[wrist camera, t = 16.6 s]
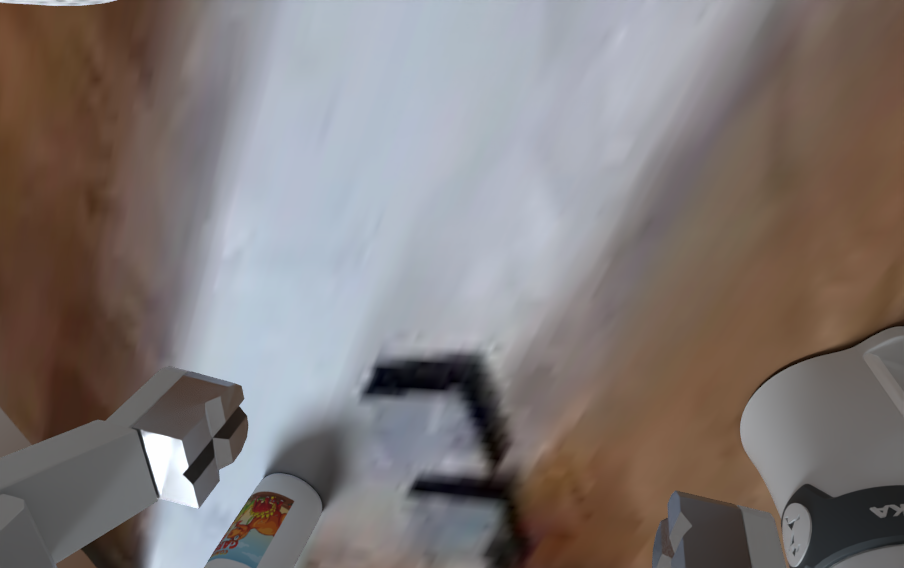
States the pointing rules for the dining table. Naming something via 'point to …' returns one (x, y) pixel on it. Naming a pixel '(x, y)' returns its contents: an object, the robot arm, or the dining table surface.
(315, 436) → the dining table surface
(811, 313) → the dining table surface
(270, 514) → the milk bottle
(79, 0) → the decorative heart
